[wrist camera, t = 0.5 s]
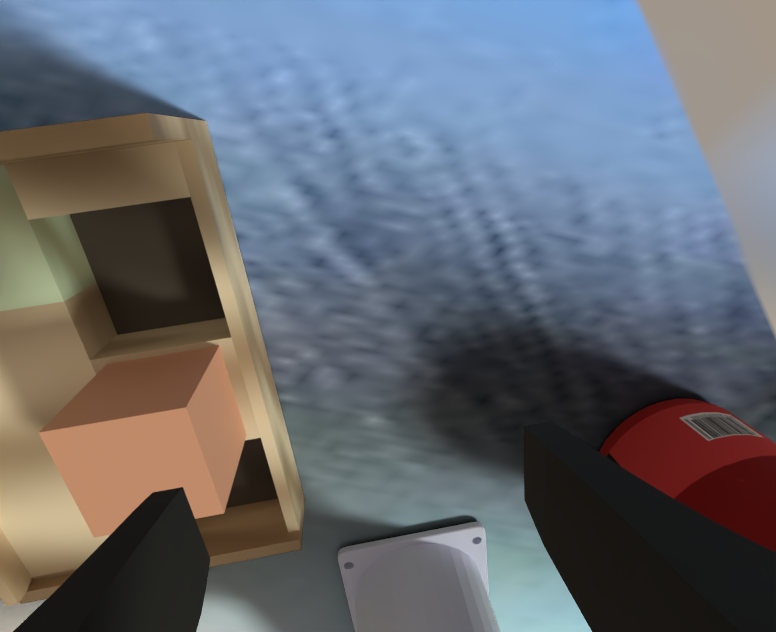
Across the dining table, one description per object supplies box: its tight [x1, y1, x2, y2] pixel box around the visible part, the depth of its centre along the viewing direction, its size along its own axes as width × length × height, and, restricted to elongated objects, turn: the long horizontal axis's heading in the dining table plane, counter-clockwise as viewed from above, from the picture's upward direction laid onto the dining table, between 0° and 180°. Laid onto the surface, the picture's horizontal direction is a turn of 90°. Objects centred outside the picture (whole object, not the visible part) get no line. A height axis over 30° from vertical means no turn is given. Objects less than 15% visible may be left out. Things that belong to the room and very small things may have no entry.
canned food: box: [599, 398, 776, 552], centre depth 19 cm, size 8×8×11 cm
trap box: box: [0, 113, 305, 606], centre depth 16 cm, size 18×12×5 cm
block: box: [39, 346, 247, 538], centre depth 15 cm, size 4×4×4 cm
